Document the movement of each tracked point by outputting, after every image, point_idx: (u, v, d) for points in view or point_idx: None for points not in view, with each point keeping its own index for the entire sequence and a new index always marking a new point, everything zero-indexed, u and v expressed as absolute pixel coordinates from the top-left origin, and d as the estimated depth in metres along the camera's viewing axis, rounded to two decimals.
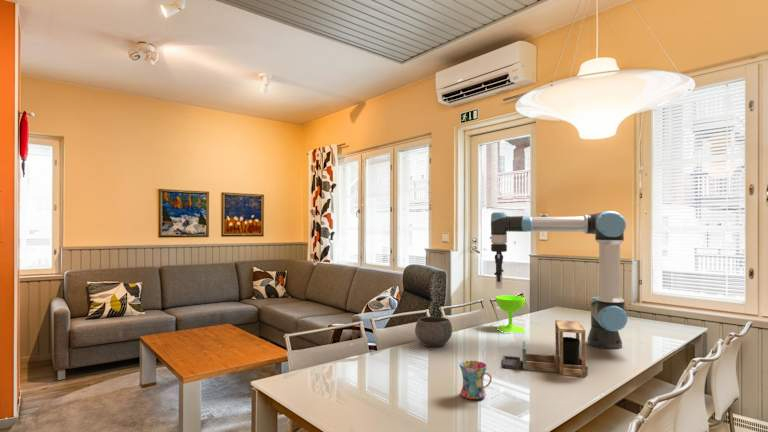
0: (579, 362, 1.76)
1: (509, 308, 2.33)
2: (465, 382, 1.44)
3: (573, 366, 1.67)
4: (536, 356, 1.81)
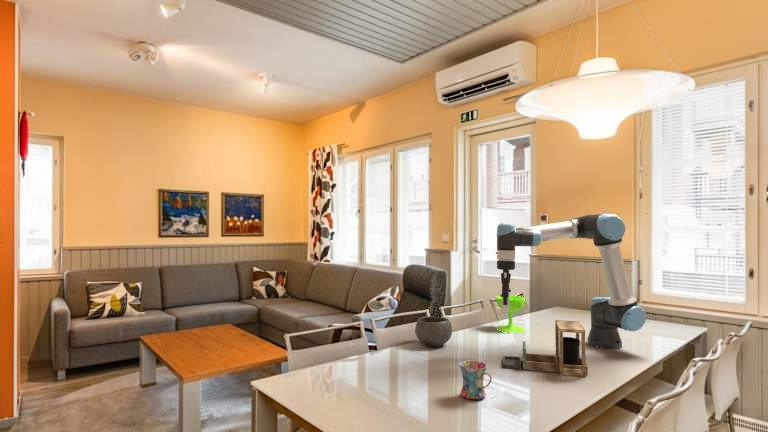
0: (579, 362, 1.76)
1: (509, 308, 2.33)
2: (465, 382, 1.44)
3: (573, 366, 1.67)
4: (536, 356, 1.81)
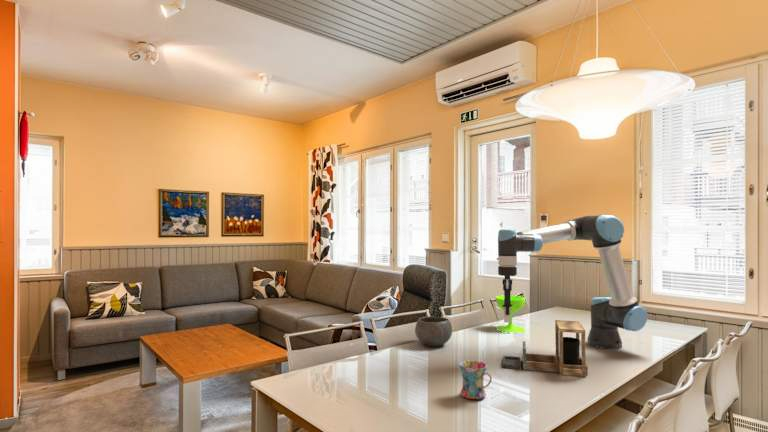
0: (579, 362, 1.76)
1: None
2: (465, 382, 1.44)
3: (573, 366, 1.67)
4: (536, 356, 1.81)
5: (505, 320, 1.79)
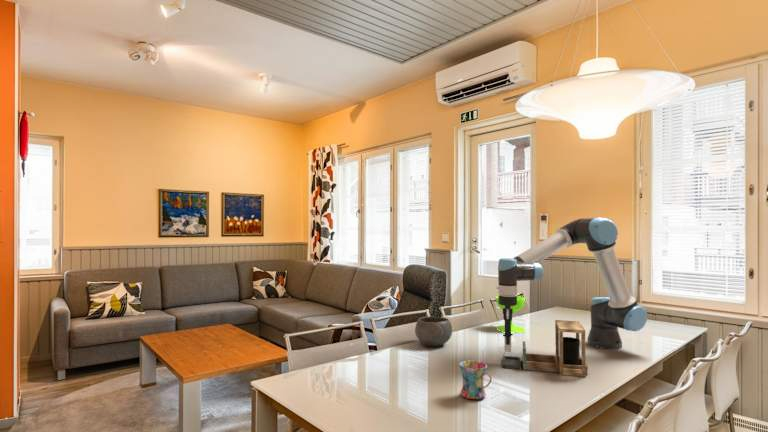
0: (579, 362, 1.76)
1: None
2: (465, 382, 1.44)
3: (573, 366, 1.67)
4: (536, 356, 1.81)
5: (505, 350, 1.79)
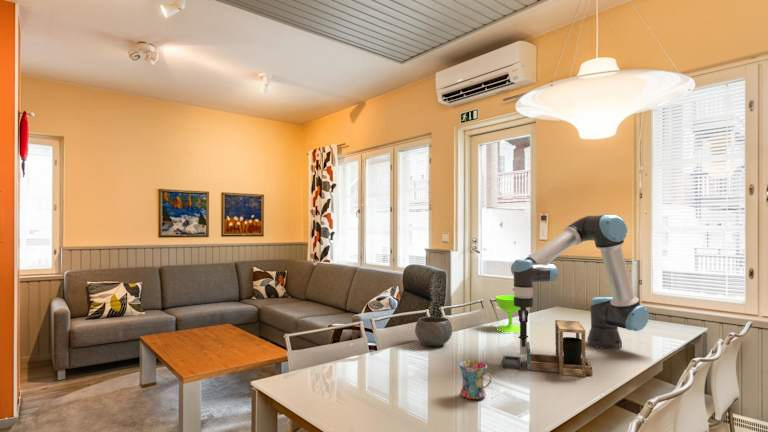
0: None
1: (509, 308, 2.33)
2: (465, 382, 1.44)
3: (578, 366, 1.67)
4: (540, 356, 1.81)
5: (521, 352, 1.78)
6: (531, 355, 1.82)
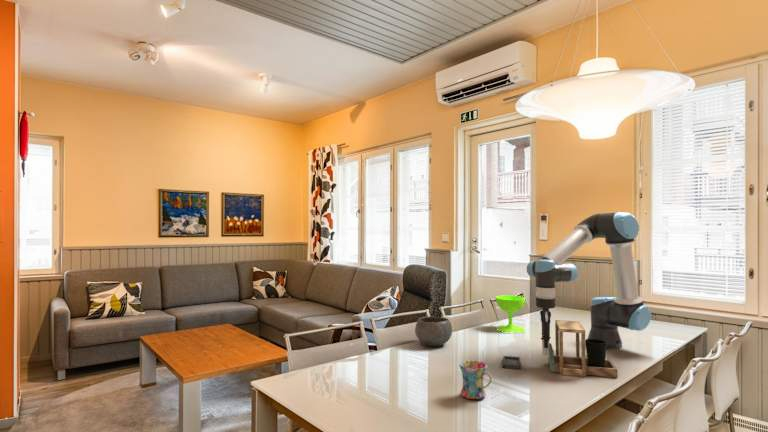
0: (607, 364, 1.73)
1: (509, 308, 2.33)
2: (465, 382, 1.44)
3: (602, 369, 1.64)
4: None
5: (543, 353, 1.75)
6: (553, 357, 1.79)
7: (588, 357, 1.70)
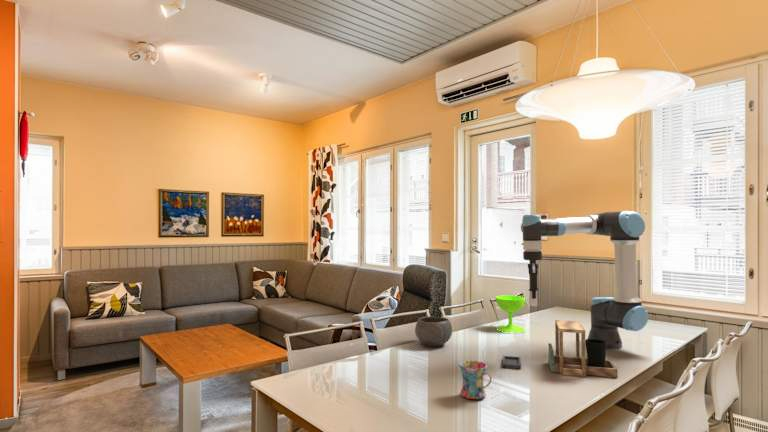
0: (607, 364, 1.73)
1: (509, 308, 2.33)
2: (465, 382, 1.44)
3: (602, 369, 1.64)
4: None
5: (532, 304, 1.82)
6: (553, 357, 1.79)
7: (588, 357, 1.70)
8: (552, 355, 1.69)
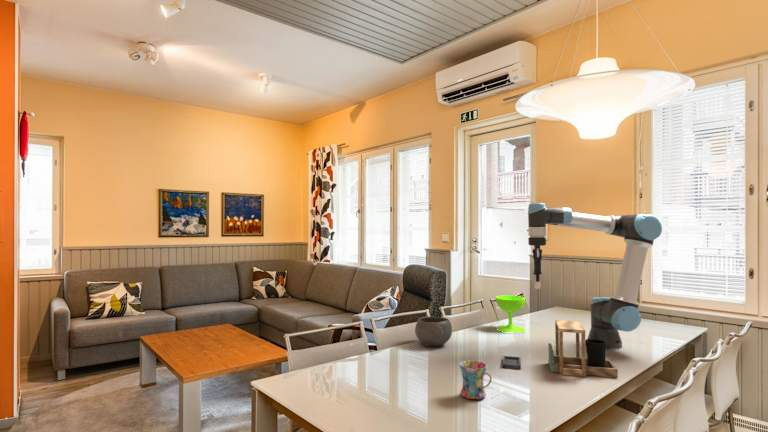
0: (607, 364, 1.73)
1: (509, 308, 2.33)
2: (465, 382, 1.44)
3: (602, 369, 1.64)
4: None
5: (535, 287, 1.94)
6: (553, 357, 1.79)
7: (588, 357, 1.70)
8: (552, 355, 1.69)
